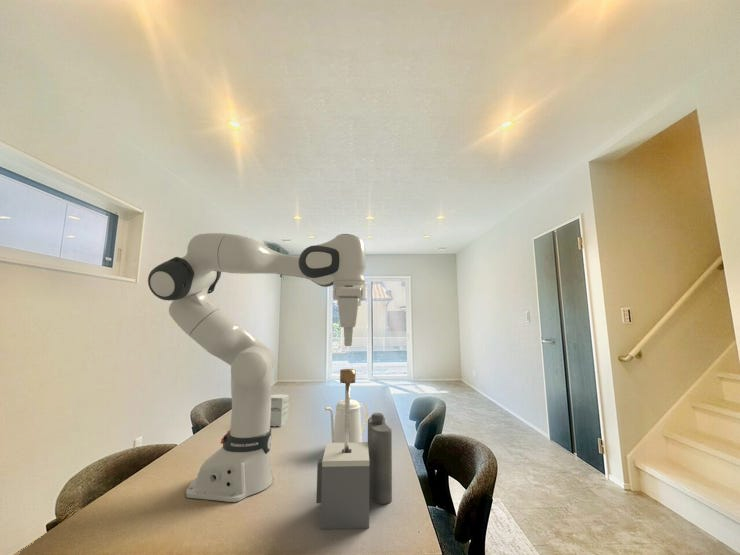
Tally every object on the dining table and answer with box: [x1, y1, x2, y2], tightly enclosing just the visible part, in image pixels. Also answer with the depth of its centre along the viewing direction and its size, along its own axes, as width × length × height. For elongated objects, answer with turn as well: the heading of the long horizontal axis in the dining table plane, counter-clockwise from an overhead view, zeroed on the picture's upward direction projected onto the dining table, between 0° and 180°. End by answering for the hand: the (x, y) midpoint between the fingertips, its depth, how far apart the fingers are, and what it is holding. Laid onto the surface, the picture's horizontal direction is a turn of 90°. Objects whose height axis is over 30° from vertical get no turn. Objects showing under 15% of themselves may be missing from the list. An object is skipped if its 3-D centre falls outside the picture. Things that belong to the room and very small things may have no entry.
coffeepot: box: [322, 395, 369, 443], centre depth 112 cm, size 11×25×19 cm, turn 143°
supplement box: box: [270, 393, 290, 428], centre depth 140 cm, size 7×7×13 cm
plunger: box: [339, 368, 356, 453], centre depth 77 cm, size 7×7×25 cm
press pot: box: [315, 441, 370, 530], centre depth 74 cm, size 13×11×14 cm
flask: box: [367, 412, 393, 505], centre depth 86 cm, size 15×6×20 cm, turn 7°
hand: (348, 344), depth 80 cm, fingers open, 8 cm apart
